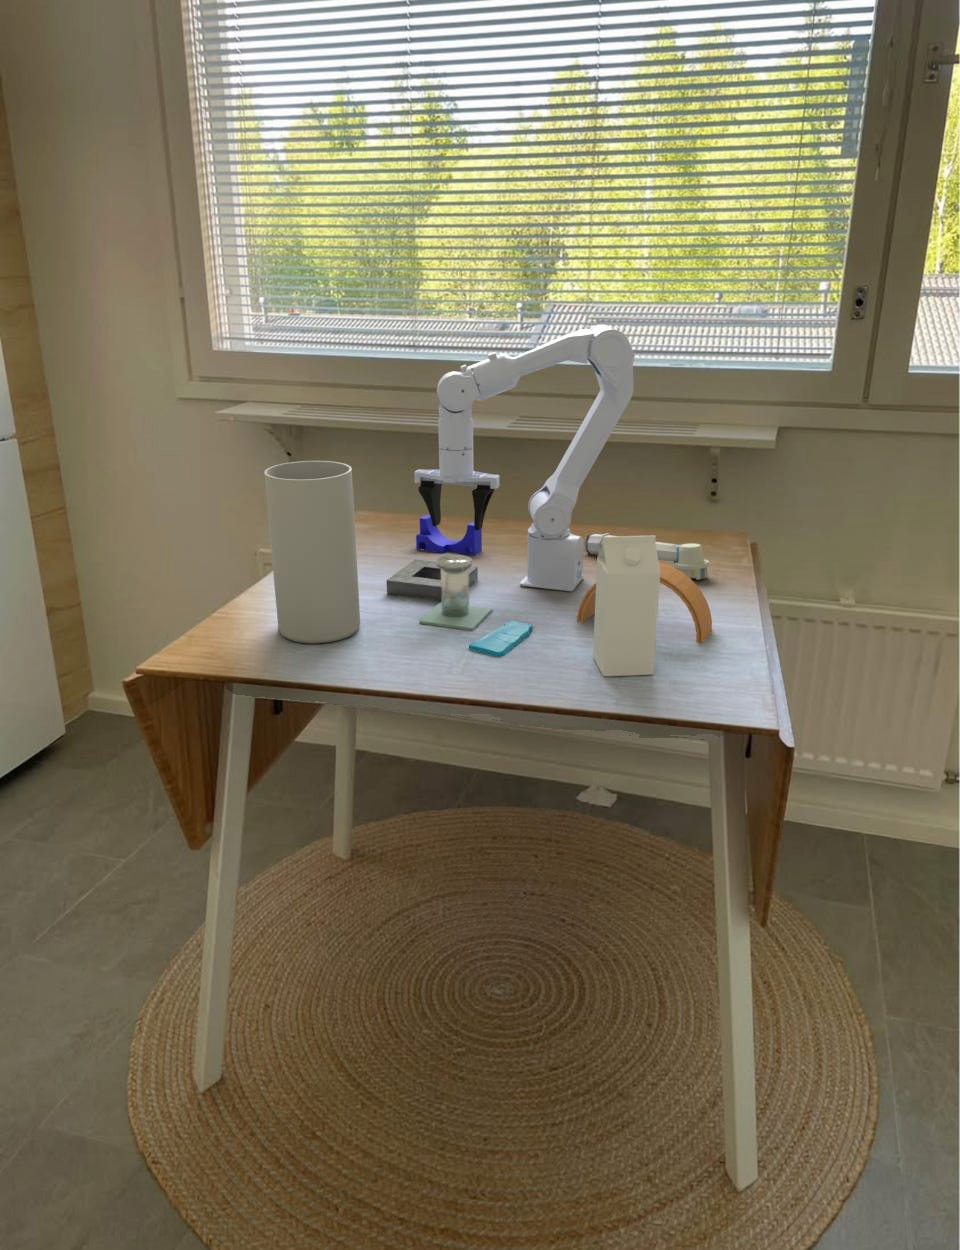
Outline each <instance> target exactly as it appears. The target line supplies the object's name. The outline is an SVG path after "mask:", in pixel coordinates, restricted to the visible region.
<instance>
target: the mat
mask: <svg viewBox="0 0 960 1250" xmlns="http://www.w3.org/2000/svg"><path fill="white" fill-rule="evenodd" d="M492 612H493V608H492V607H486V606H485V607H483V606H477V605H476V606H475V605H469V614H468V615H466V616H463V617H447V616H444V615H443V614H442V607H441V601H440V602H439V603H438V604H436V606H435V607H434V608H432V609H431V610H430V611H429V612H428V613H427V614H425V616H423V617H422V618H421V619H420V620H419V624H423V625H430V626H437V627H442V628H443V627H446V628H450V629H451V628H452V629H459V630H467V631H474V630H475V629H476V628H477V627H478V626H479V625H480V624H481V623H482V622H483V621H484V620H485V619H486V618H487V617H488V616H489V615H490V614H491V613H492Z"/></svg>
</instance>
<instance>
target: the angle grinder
mask: <svg viewBox="0 0 960 1250" xmlns="http://www.w3.org/2000/svg"><path fill="white" fill-rule="evenodd" d="M603 537H618V536H617V535H610V533H609V532H607V533H604V534H599V533H596V534H595V533H592V534H589V535H587V537H586V538H585V541H584V548H585V552H586V553H587V554H589V553H590V554H589V555H594V554H595V555H594V556H598V555H599V552H600V550H601V548H602V546H603ZM655 544H656V549H657V555H658V560H659V561H666V562H673V567H674V568H676V569H678V570H680V571H681V572H683V573H684V574H686V575H687V576H688V577H689V578H690V579H695V580H697V581H698V580H704V579H706V578H707V577H708V567H710V561H709V560H708V559H705V557H704V550H703V547H702V545H701V543H700V544H699V543H683V544H675V543H669V542H660V541H656V543H655Z"/></svg>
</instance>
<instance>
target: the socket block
mask: <svg viewBox="0 0 960 1250" xmlns="http://www.w3.org/2000/svg"><path fill="white" fill-rule="evenodd" d="M478 568H479V567H478V566H477V565H472V566H471V567H470V568H469V588H470V587H472V586H473V585H474V584H475V583H476V582H477V581H478V580H479V579H478V574H479V573H478V570H479V569H478ZM385 581H386V594H387V595H390V594H394V595H393V596H398V595H400V596H399V597H406V598H415V599H423V600H424V599H425V600H431V601H440V602H441V568H439V567H438V564H437V561H433V560H432V561H430V560H422V559H414V560H413V561H411V562H409V563H408V564H407V565H406V566H404V567H402V569H400V570H399V571H397V572H396V573H394V574H393V575H391V576H390V577H389V578H387V579H386V580H385Z"/></svg>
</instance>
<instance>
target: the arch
mask: <svg viewBox="0 0 960 1250" xmlns="http://www.w3.org/2000/svg"><path fill="white" fill-rule="evenodd" d="M659 566H660V584H662V585H664V586H665V587H667V588H668V589H670V590H671V591H672V592H673V593H675V594H676V595H677V596H678V597H679V598H680V599H681V601H682V602H683V603H684V604H685V606H686V607H687V609H688V611H689V614H690V615H691V617H692V621H693V624H694V627H695V633H696V634H695V639H696V640H695V642H696V643H700V644H704V642H705V641H706V639H707V638H708V636H709V635H710V634H711V632H712V630H713V620H712V614H711V610H710V607H709V603H708V601H707V598H706V597H705V595H704V594H703V592H702V591H701V589H700V588H699V587H698V585H697V584H696V582H694V581H693V580H692V578H689V577H688V576H687V575H686V574H684V573H683V572H681V571H680V570H678V569H676V568H675V567H674V566H671V565H670V564H668V563H664V562H662V561H659ZM595 599H596V582H594V584H593V585H592V586H591V587H590V588H589V589H588V590H587V591H586V594H585V595H584V596H583V597H582V600H581V603H580V604H579V605H580V606H579V608H578V613H577V616H576V622H577V623H578V622H579V623H584V622H586V621H587V620H588V619H589V618H590V617H591V616H592V615H594V614H595Z"/></svg>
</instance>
